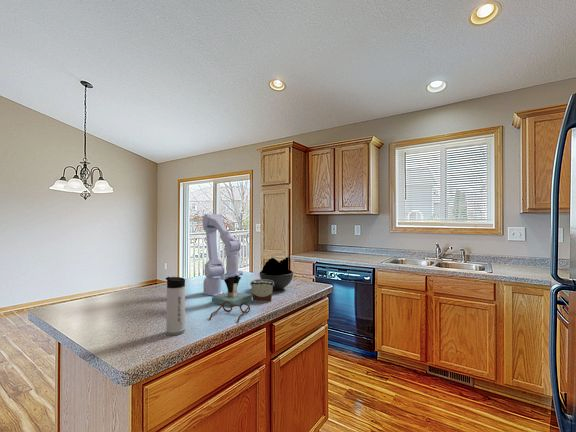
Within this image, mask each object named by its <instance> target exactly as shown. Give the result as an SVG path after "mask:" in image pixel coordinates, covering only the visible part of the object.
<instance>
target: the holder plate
mask: <svg viewBox="0 0 576 432" xmlns="http://www.w3.org/2000/svg"><path fill="white" fill-rule="evenodd" d="M226 301H227V302H230V303H231V304H232V305H233V304H237V305H241V304H242V303H248V302H249V301H253V297H252V294H249V293H243V292H238V291H237V297H235V298H232V297H228V291H227V292H225V293H222V294H219V295H216V296H212V297H211V303H213V304H217V305H221V304H223V303H224V302H226ZM224 306H226V307H227V306H228V307H231V305H230V304H229V303H225V304H224ZM234 307H236V306H232V308H234Z"/></svg>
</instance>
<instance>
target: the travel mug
mask: <svg viewBox="0 0 576 432" xmlns="http://www.w3.org/2000/svg"><path fill="white" fill-rule="evenodd" d="M165 280H166V331H165V333H166V335H167V336H173V337H174V336H179V335H181V334H184V333H185V331H186V279H185V278H183V277H182V276H181V277H180V276H166V278H165Z"/></svg>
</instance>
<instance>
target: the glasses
mask: <svg viewBox="0 0 576 432" xmlns="http://www.w3.org/2000/svg"><path fill="white" fill-rule="evenodd" d="M225 303H229V304H230V305H231V306H230V309H226V308H225V305H224V304H225ZM243 305H246V306H247V307H246V309H245V310H243V309H242V306H243ZM232 306H235V307H239V310H240V311H241V314H240V315H238V318H237V322H236V324H239V322H240V318H241V317H242V316H244V315H245V314H248V313H249V312H250V311H251V306H250V304H249V303H248V302H245V303H242V304H240V305H237V304H233V305H232V304H231V303H230V302H227V301H226V302H224V303H223V304H222V305H221V304H220V306H219V308H217V309H216V310H215V311H213V312H211V313H210V316H209V320H208V321H211V320H212V317H213V315H214V314H216V313H218V312H219V311H220V310H221V309H223V310H224V311H225V312H231V311H232V310H233V307H232Z"/></svg>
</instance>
